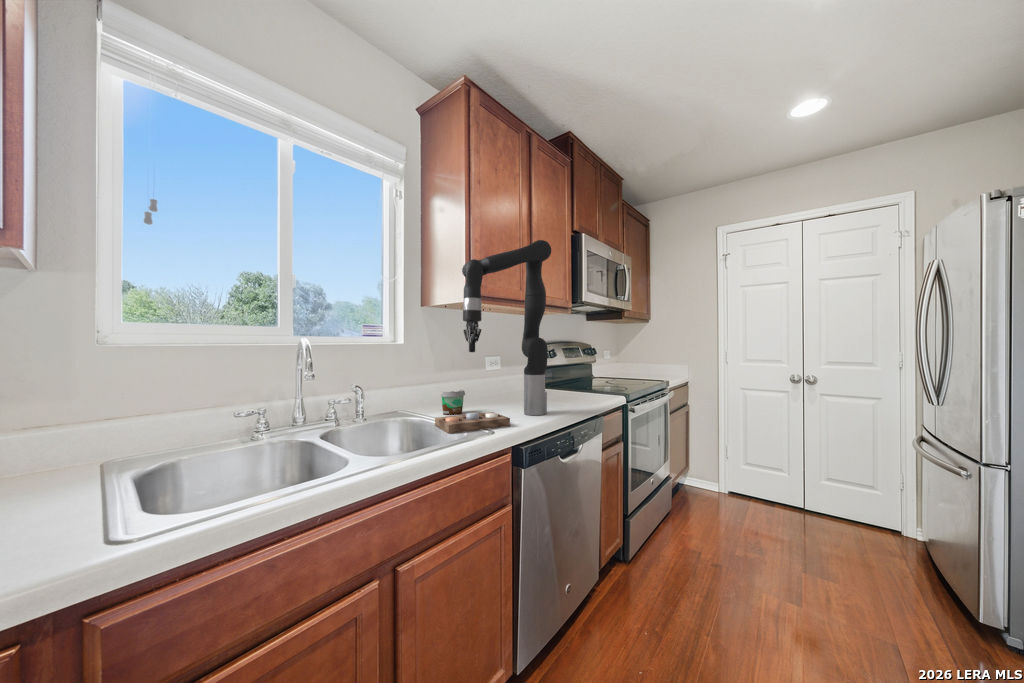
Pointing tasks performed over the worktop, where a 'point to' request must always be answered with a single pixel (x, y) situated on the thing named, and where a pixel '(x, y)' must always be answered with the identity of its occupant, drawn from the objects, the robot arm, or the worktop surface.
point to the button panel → (471, 423)
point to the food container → (452, 402)
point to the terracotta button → (451, 419)
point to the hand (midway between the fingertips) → (472, 352)
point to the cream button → (491, 415)
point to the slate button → (472, 416)
